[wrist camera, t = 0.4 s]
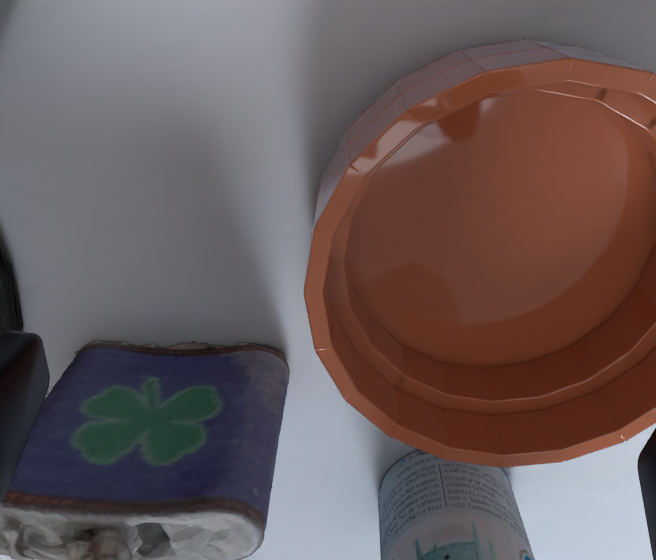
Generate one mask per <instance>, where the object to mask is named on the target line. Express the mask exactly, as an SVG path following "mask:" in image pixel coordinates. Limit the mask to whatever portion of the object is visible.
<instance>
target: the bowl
mask: <svg viewBox="0 0 656 560" xmlns="http://www.w3.org/2000/svg"><path fill="white" fill-rule="evenodd" d="M304 298H305V303H306V308H307V313H308V318H309V323H310V328H311V334H312V339H313V344H314V349H315V350H316V353H317V355H318V357H319V358H320V360H321V362H322V363H323V365H324V367H325V368H326V370H327V371H328V373H329V375H330V376H331V378H332V380H333V381H334V383H335V385H336V386H337V388H338V390H339V391H340V393H341V394H342V396H343V398H344V399H345V400H346V401H347V402H348V403H349V404H350V405H351V406H353V407H354V408H355V409H356V410H357V411H359V412H360V413H361V414H362V415H363V416H365V417H366V418H367V419H368V420H369V421H371V422H372V423H373V424H374V425H375V426H376V427H378V428H379V429H380V430H381V431H382V432H384V433H385V434H386V435H387V436H390V437H391V438H394V439H396V440H398V441H401V442H403V443H405V444H408V445H410V446H412V447H415V448H417V449H419V450H422V451H424V452H426V453H429V454H431V455H433V456H436V457H438V458H442V459H443V460H450V461H457V462H464V463H471V464H478V465H485V466H492V467H499V468H500V467H502V468H504V467H515V466H526V465H536V464H547V463H558V462H563V461H568V460H571V459H574V458H577V457H580V456H583V455H586V454H589V453H592V452H595V451H598V450H601V449H604V448H607V447H610V446H613V445H616V444H619V443H622V442H624V440H625V441H627V440H628V439H630V438H632V437H633V436H635V435H637V434H638V433H640V432H642V431H643V430H645V429H646V428H648V427H650V426H651V425H653V424H655V423H656V73H654V72H651V71H648V70H646V69H643V68H640V67H637V66H634V65H632V64H629V63H626V62H623V61H620V60H618V59H615V58H612V57H609V56H606V55H604V54H601V53H598V52H595V51H592V50H587V49H582V48H576V47H570V46H565V45H559V44H553V43H548V42H542V41H536V40H531V39H528V40H526V39H523V40H517V41H511V42H505V43H498V44H492V45H486V46H479V47H473V48H467V49H461V50H459V51H455V52H453V53H451V54H449V55H447V56H445V57H443V58H441V59H439V60H437V61H435V62H433V63H431V64H429V65H427V66H425V67H423V68H421V69H419V70H417V71H415V72H413V73H411V74H409V75H407V76H406V77H404V78H402V79H400V80H398V81H397V82H396V83H394V84H393V85H392V86H391V87H390V88H389V89H388V90H387V91H386V92H385V93H384V94H383V95H382V96H381V97H380V98H379V99H378V100H377V101H376V102H375V103H373V104H372V105H371V106H370V107H369V108H368V109H367V110H366V111H365V112H364V113H363V114H362V115H361V116H360V117H359V118H358V119H357V120H356V121H355V122H354V123H353V124H352V125H351V126H350V128H349V129H348V130H347V132H346V134H345V136H344V137H343V139H342V141H341V143H340V145H339V147H338V149H337V151H336V153H335V154H334V156H333V158H332V160H331V162H330V164H329V166H328V168H327V170H326V172H325V173H324V175H323V177H322V179H321V182H320V185H319V191H318V197H317V204H316V210H315V216H314V222H313V229H312V235H311V242H310V249H309V256H308V263H307V270H306V277H305V284H304Z"/></svg>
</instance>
